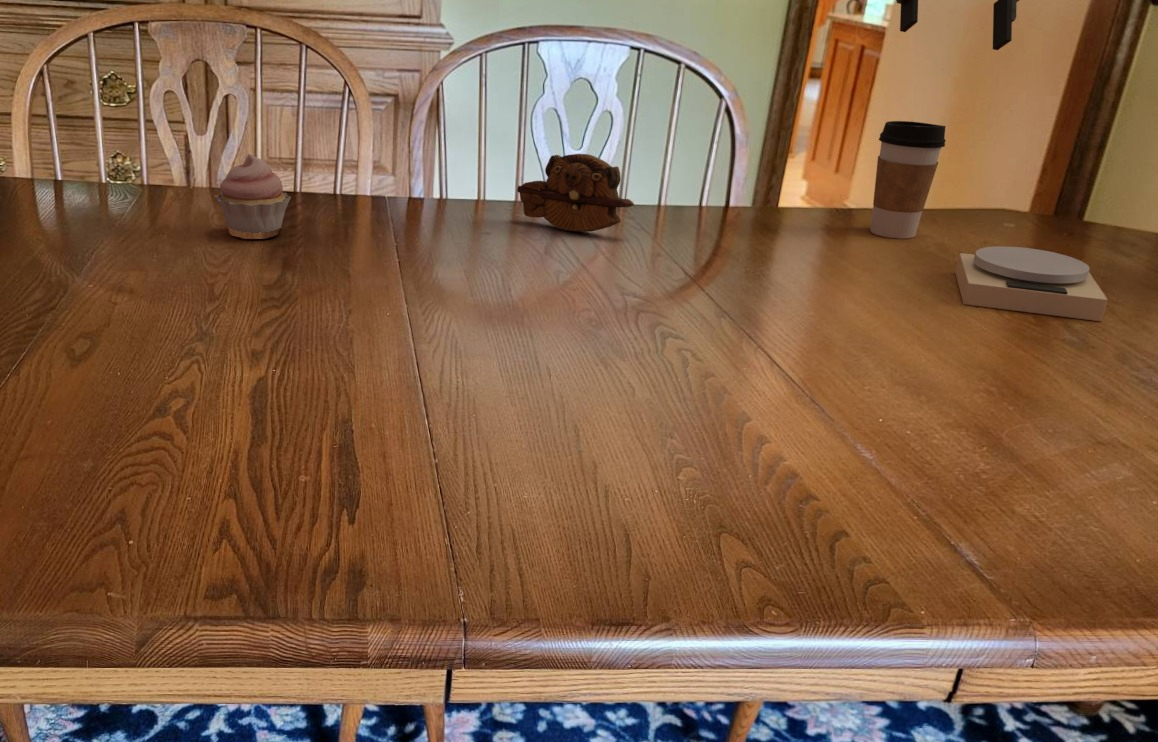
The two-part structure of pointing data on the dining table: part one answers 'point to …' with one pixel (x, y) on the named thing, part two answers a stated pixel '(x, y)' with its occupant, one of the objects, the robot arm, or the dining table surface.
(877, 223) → the coffee cup
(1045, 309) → the kitchen scale
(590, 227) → the wooden carving
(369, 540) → the dining table surface
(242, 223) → the cupcake
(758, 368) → the dining table surface
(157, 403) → the dining table surface
